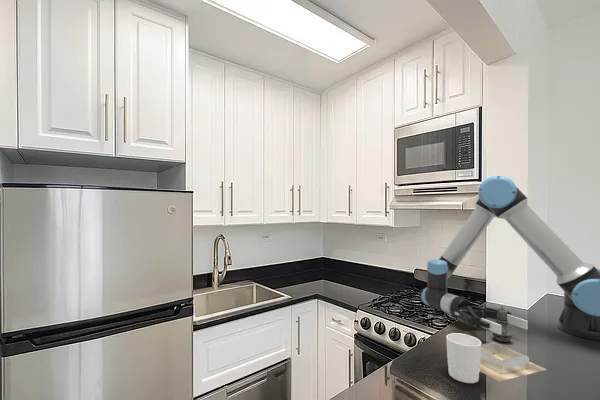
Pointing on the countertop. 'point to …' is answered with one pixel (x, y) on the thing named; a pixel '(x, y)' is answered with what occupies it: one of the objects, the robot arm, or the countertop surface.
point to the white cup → (463, 357)
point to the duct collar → (513, 358)
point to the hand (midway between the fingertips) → (514, 327)
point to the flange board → (499, 377)
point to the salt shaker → (503, 326)
